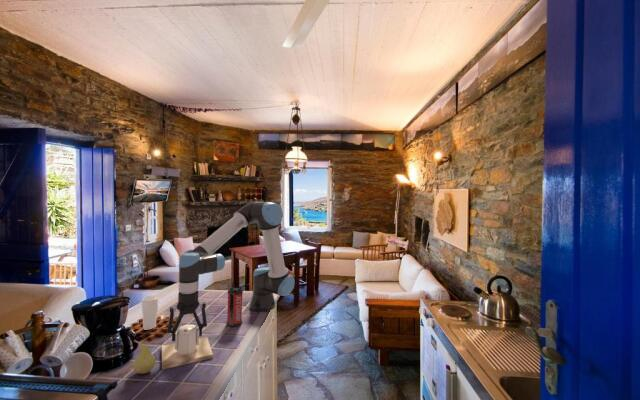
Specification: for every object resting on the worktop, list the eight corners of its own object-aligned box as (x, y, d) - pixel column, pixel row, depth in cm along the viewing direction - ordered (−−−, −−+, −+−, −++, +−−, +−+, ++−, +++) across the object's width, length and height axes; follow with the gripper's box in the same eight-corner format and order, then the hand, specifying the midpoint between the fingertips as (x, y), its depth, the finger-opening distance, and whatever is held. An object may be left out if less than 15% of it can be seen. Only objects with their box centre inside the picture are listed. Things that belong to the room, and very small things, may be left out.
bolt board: (206, 340, 131) (207, 323, 131) (212, 358, 117) (213, 339, 117) (161, 349, 122) (162, 331, 122) (162, 369, 108) (162, 349, 108)
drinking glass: (159, 329, 140) (160, 298, 140) (143, 333, 135) (144, 301, 135) (154, 324, 145) (155, 294, 145) (139, 328, 140) (140, 297, 140)
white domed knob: (180, 345, 123) (181, 322, 123) (198, 345, 124) (198, 322, 124) (174, 355, 116) (175, 330, 115) (193, 354, 117) (194, 330, 117)
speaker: (237, 319, 154) (238, 285, 154) (245, 324, 149) (246, 289, 149) (223, 323, 149) (225, 288, 149) (231, 328, 143) (232, 292, 143)
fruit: (149, 378, 103) (150, 344, 103) (127, 378, 103) (128, 344, 102) (158, 367, 110) (159, 335, 110) (137, 367, 109) (138, 335, 109)
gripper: (212, 285, 128) (211, 336, 128) (160, 291, 118) (158, 347, 118) (215, 290, 121) (214, 344, 121) (160, 297, 111) (158, 356, 111)
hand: (186, 346), depth 120 cm, fingers closed on white domed knob, 7 cm apart
